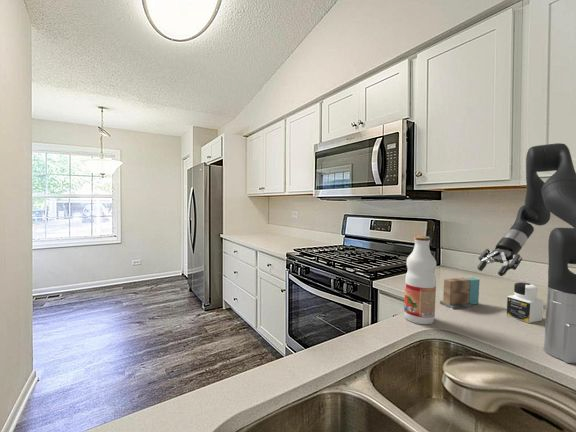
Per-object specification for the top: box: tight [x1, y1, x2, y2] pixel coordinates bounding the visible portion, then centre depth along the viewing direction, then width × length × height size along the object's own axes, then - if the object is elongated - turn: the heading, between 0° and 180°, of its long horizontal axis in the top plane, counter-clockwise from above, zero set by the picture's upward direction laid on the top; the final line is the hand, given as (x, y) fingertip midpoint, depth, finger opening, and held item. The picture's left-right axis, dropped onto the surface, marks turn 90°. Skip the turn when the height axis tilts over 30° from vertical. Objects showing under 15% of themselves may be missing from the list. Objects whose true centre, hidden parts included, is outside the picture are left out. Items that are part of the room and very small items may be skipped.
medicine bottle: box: [506, 282, 544, 324], centre depth 99 cm, size 7×7×12 cm
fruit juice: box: [403, 235, 437, 325], centre depth 96 cm, size 9×9×28 cm
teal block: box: [465, 277, 481, 305], centre depth 113 cm, size 4×3×10 cm, turn 107°
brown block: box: [439, 277, 473, 310], centre depth 111 cm, size 10×6×10 cm, turn 107°
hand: (489, 272), depth 115 cm, fingers open, 8 cm apart
